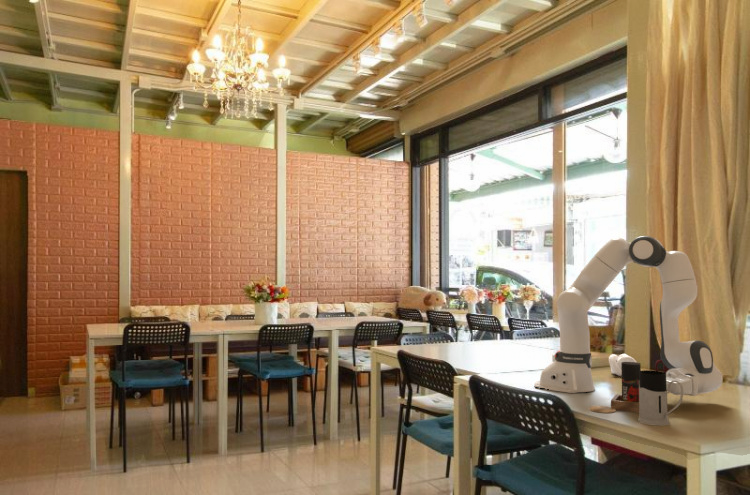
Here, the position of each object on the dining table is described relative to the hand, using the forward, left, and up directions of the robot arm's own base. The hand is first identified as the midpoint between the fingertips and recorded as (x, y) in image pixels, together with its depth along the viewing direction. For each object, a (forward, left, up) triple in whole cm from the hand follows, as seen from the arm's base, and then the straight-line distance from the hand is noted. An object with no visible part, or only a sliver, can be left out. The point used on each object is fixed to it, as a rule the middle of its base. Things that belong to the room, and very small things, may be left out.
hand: (643, 383), depth 201 cm
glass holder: (+7, -20, -8) cm, 23 cm away
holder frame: (-3, -4, -8) cm, 9 cm away
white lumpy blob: (-15, +60, -8) cm, 63 cm away
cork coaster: (-11, -12, -8) cm, 18 cm away
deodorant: (-3, -4, -8) cm, 10 cm away
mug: (+6, +42, -8) cm, 43 cm away
